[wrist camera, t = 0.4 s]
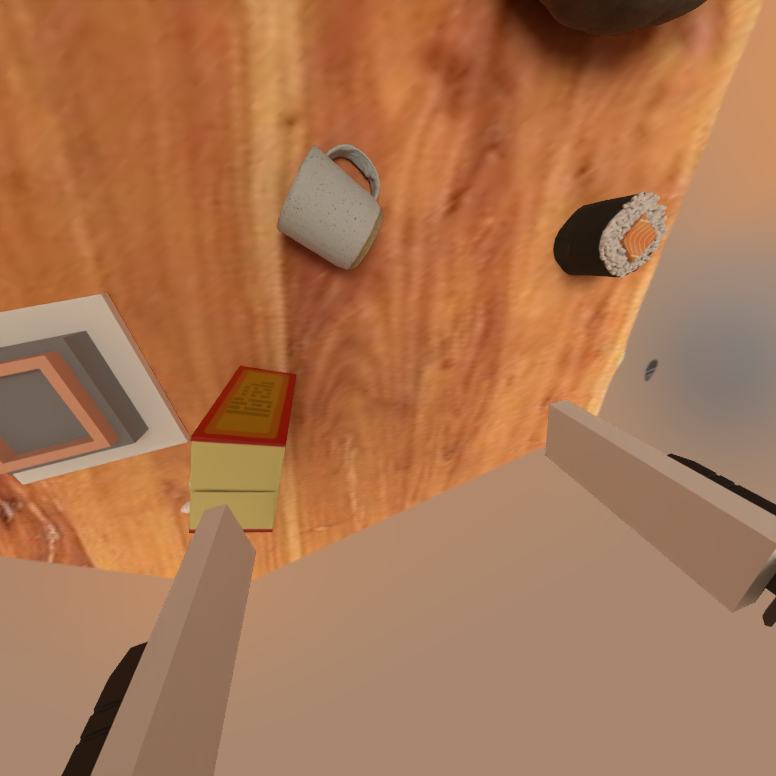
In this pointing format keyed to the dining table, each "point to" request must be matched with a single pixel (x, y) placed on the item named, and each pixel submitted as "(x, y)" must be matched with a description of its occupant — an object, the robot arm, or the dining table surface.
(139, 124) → the dining table surface
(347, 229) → the ceramic mug
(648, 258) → the sushi
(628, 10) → the gourd
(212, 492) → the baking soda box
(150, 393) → the square stepped base
